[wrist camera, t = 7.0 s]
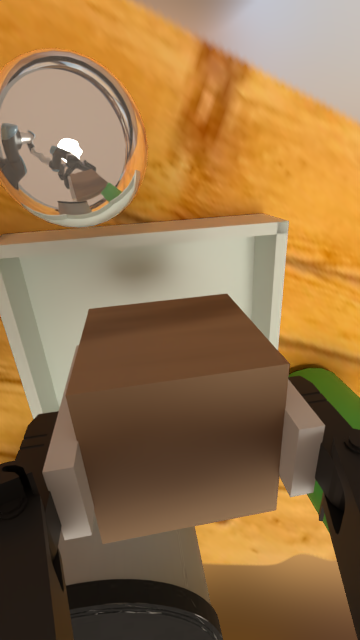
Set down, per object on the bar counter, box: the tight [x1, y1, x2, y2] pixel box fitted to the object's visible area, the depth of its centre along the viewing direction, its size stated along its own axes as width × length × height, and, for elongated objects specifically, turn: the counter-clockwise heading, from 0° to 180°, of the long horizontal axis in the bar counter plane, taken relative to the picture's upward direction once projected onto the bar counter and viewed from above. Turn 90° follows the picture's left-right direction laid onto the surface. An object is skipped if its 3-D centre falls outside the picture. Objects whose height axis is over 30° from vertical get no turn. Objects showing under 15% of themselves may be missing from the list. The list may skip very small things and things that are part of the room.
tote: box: [0, 213, 289, 419], centre depth 26 cm, size 20×17×4 cm
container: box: [58, 512, 223, 640], centre depth 29 cm, size 19×19×15 cm
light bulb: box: [0, 48, 148, 228], centre depth 17 cm, size 7×7×12 cm
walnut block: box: [65, 294, 290, 544], centre depth 12 cm, size 6×6×6 cm
